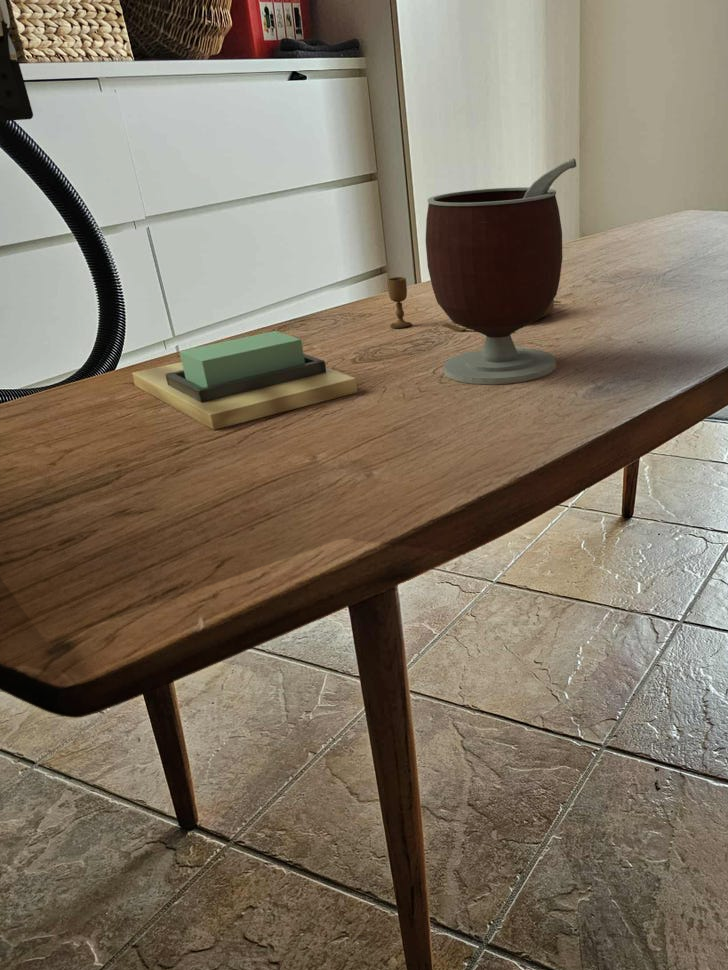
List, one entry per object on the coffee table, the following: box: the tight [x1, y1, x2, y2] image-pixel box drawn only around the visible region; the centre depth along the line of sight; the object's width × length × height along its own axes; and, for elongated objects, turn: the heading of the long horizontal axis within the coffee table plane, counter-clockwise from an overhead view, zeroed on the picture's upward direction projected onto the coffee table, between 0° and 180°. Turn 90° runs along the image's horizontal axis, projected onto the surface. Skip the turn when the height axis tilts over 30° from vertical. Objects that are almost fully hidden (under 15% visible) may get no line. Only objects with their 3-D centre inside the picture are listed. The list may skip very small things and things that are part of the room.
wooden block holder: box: [131, 353, 358, 431], centre depth 96 cm, size 16×22×3 cm
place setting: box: [386, 276, 562, 332], centre depth 119 cm, size 18×20×6 cm
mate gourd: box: [425, 158, 577, 385], centre depth 93 cm, size 16×14×20 cm
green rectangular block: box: [179, 330, 305, 388], centre depth 94 cm, size 11×6×4 cm, turn 128°
